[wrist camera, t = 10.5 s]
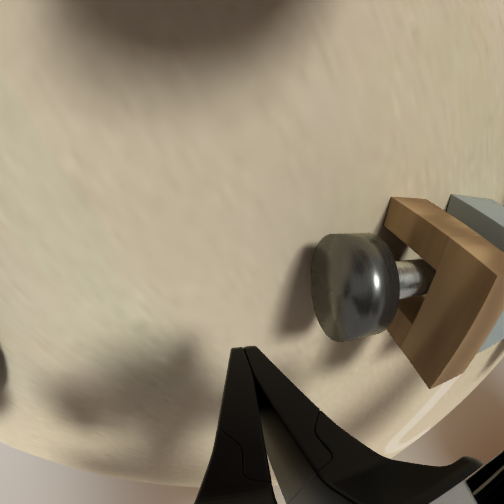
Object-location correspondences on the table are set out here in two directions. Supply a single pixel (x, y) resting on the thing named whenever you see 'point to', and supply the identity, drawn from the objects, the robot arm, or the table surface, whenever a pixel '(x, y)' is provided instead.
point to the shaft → (362, 284)
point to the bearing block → (488, 226)
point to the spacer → (445, 290)
